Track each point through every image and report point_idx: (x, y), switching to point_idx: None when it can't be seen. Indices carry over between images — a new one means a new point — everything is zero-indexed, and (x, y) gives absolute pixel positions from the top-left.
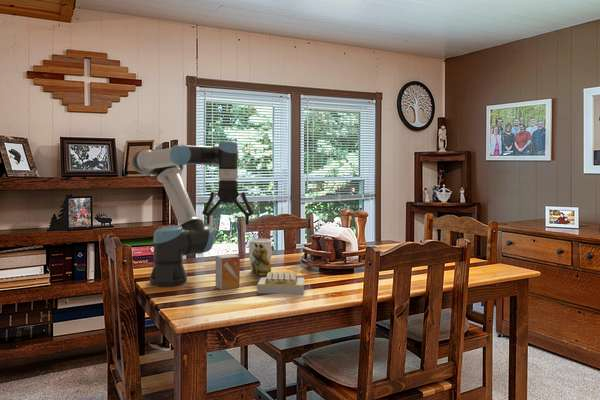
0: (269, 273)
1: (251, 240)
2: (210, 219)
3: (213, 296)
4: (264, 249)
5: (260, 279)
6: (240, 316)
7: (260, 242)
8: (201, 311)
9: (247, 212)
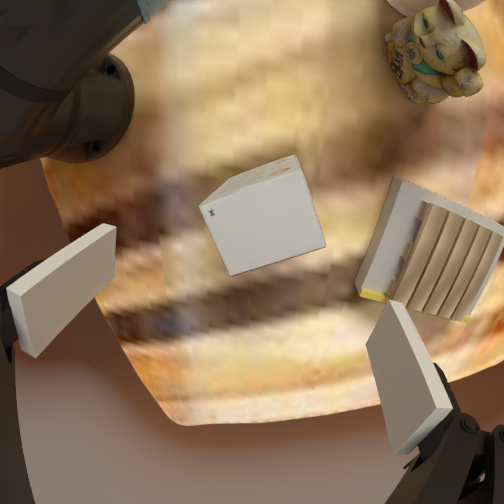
0: (429, 229)
1: None
2: (46, 334)
3: (221, 288)
4: (478, 91)
5: (392, 214)
6: (273, 416)
7: None
8: (199, 381)
9: (470, 453)
